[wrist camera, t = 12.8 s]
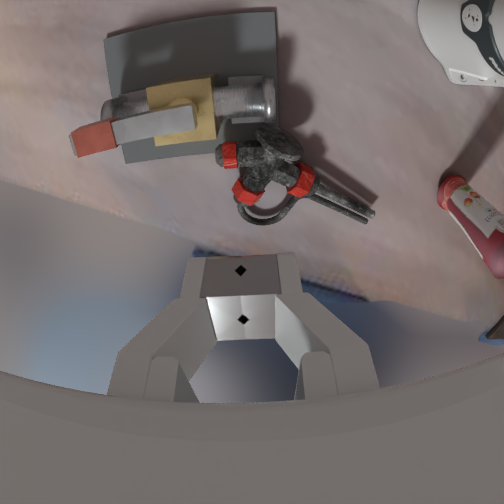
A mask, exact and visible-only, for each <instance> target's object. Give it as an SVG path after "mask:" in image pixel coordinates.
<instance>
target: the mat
mask: <svg viewBox="0 0 504 504" xmlns="http://www.w3.org/2000/svg"><path fill="white" fill-rule="evenodd" d="M103 41H104V49H105V57H106V64H107V71H108V77H109V84H110V90H111V95H112V99H114V98H118V95H120V94H122V93H124V92H129V91H133V90H138V89H142V88H147V87H149V86H152V85H154V84H156V83H159V82H161V81H165V80H171V79H177V78H183V77H190V76H198V75H206V74H215V73H217V81H218V87H224V86H229V84H228V77H229V76H234V75H249V74H262V77H273V80H274V86H275V99H276V121H275V123H264V122H253V123H237V124H232V120H231V119H221V127H220V130H219V133H218V136H217V139H214V140H203V141H194V142H185V143H177V144H169V145H162V146H155V140H154V137H150V138H145V139H141V140H136V141H131V142H127V143H122V144H121V145H122V150H123V154H124V158H125V163H126V164H128V163H134V162H141V161H148V160H155V159H162V158H170V157H178V156H187V155H196V154H206V153H215V149H216V148H217V146H218V145H219V144H223V143H224V142H226V141H237V144H239V141H246V140H257V138H256V135H255V132H256V130H257V128H258V127H259V126H260V125H263V124H268V125H272V126H275V127H278V128H279V96H278V70H277V48H276V29H275V12H253V13H236V14H224V15H215V16H206V17H199V18H192V19H186V20H180V21H174V22H169V23H164V24H159V25H155V26H150V27H146V28H142V29H138V30H134V31H130V32H127V33H123V34H120V35H116V36H113V37H110V38H107V39H103Z"/></svg>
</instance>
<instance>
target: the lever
mask: <svg viewBox="0 0 504 504" xmlns="http://www.w3.org/2000/svg"><path fill="white" fill-rule="evenodd" d="M197 126H198V121H197V115H196V109H195V103H194V102H192V103H186V104H180V105H175V106H170V107H164V108H160V109H155V110H150V111H146V112H141V113H137V114H133V115H129V116H125V117H121V118H118V116H115V117H112V118H108V119H104V120H101V121H98V122H94V123H91V124H88V125H85V126H82V127H79V128H78V129H76V130H74V131H73V132H71V134H70V135H69V138H70V142H71V145H72V148H73V152H74V155H75V156H76V155H77V156H78V158H79V157H82V156H86V155H89V154H93V153H97V152H101V151H105V150H109V149H113V148H116V147H118V146H119V145H120V144H122V143H127V142H131V141H136V140H141V139H145V138H150V137H155V136H161V135H166V134H172V133H178V132H184V131H190V130H195V129H196V128H197Z"/></svg>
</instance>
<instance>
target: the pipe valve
mask: <svg viewBox="0 0 504 504" xmlns="http://www.w3.org/2000/svg"><path fill="white" fill-rule="evenodd" d="M228 84H229V86H224V87H218V81H217V73H215V74H206V75H198V76H190V77H183V78H177V79H171V80H165V81H161V82H159V83H156V84H154V85H152V86H149V87H147V88H142V89H138V90H133V91H129V92H124V93H122V94H120V95H118V98H114V99H110V100H107V101H105V102H104V104H103V106H102V109H101V120H104V119H108V118H112V117H115V116H118V118H121V117H125V116H129V115H133V114H137V113H141V112H146V111H150V110H155V109H160V108H164V107H170V106H175V105H180V104H186V103H192V102H194V103H195V109H196V115H197V121H198V126H197V128H196V129H195V130H190V131H184V132H178V133H172V134H166V135H161V136H155V137H154V140H155V146H162V145H169V144H177V143H185V142H194V141H203V140H214V139H217V136H218V133H219V130H220V127H221V119H231V120H232V124H237V123H253V122H264V123H275V121H276V99H275V86H274V80H273V77H262V74H249V75H234V76H229V77H228Z"/></svg>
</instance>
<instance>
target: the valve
mask: <svg viewBox="0 0 504 504" xmlns="http://www.w3.org/2000/svg"><path fill="white" fill-rule="evenodd" d="M255 135H256V138H257V140H246V141H239V144H237V141H226V142H224V143H223V144H219V145H218V146H217V148H216V149H215V157H216V162H217V164H218V165H220V166H221V167H223V166H224V168H225V169H228V168H238V164H240V167H247V168H246V172H245V173H244V175H243V176H242V177H241V178H239V179H237V181H236V183H235V184H234V186H233V188H232V191H233V193H234V200H235V202H236V203H237V204H238V205H237V208H238V212H239V214H240V215H241V217H242V218H243V219H245V220H246V221H248V222H250V223H252V224H255V225H270V224H274V223H276V222H278V221H280V220H281V219H282V218H284V217H285V216H286V214H287V213H288V212H289V211H290V209H291V208H292V207H293V206H294V204H295V203H296V202H297V201H298V200H299V199H301V198H309V199H311V200H313V201H316V202H318V203H320V204H322V205H325V206H327V207H329V208H331V209H333V210H336V211H338V212H340V213H342V214H344V215H346V216H349V217H351V218H353V219H355V220H357V221H359V222H361V223H363V224H367V223H368V219H367V218H365V217H362V216H360V215H358V214H356V213H354V212H352V211H350V210H348V209H346V208H344V207H342V206H340V205H338V204H335V203H333V202H331V201H329V200H327V199H325V198H322V197H320V196H318V195H316V194H314V193H315V192H317V193H319V194H321V195H324V196H326V197H328V198H330V199H332V200H334V201H336V202H339V203H341V204H343V205H345V206H347V207H349V208H351V209H353V210H355V211H357V212H359V213H361V214H363V215H365V216H367V217H369V218H373V217H374V216H375V211H373V210H372V209H370V208H368V207H366V206H364V205H362V204H360V203H358V202H356V201H354V200H352V199H350V198H348V197H346V196H344V195H342V194H340V193H338V192H336V191H334V190H332V189H330V188H328V187H326V186H324V185H322V184H320V180H319V177H318V176H317V175H316V174H315V173H314V172H313V169H312V167H310V166H307V165H305V164H303V163H301V162H299V163H298V164H297V165H295V166H294V165H292V164H290V163H288V162H285V159H286V160H289V161H297V160H299V159H300V158H301V156H302V155H303V149H302V147H301V145H300V144H299V142H298V141H297V140H296V139H295V138H294V137H293V136H291V135H290V134H289V133H287V132H285V131H284V130H282V129H280V128H278V127H275V126H272V125H268V124H263V125H260V126H259V127H258V128H257V130H256V132H255ZM271 180H272V181H275V182H277V183H280V184H282V185H285V186H286V188H287V193H289V194H292V195H293V196H292V197H291V199H290V200H289V201H288V202H287V204H286V205H285V206H284V208H283V209H282V210H281V211H280V213H279V214H277V215H276V216H274V217H272V218H268V219H257V218H254V217H252V216H250V215H248V214H247V212H246V211H245V209H244V207H248V206H252V205H253V204H254V203H256V202H257V201H259V199H260V198H261V196H262V195H263V193H264V192H265V190H264V188H265V187H266V185H267V184H268V183H269V182H270V181H271Z"/></svg>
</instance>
